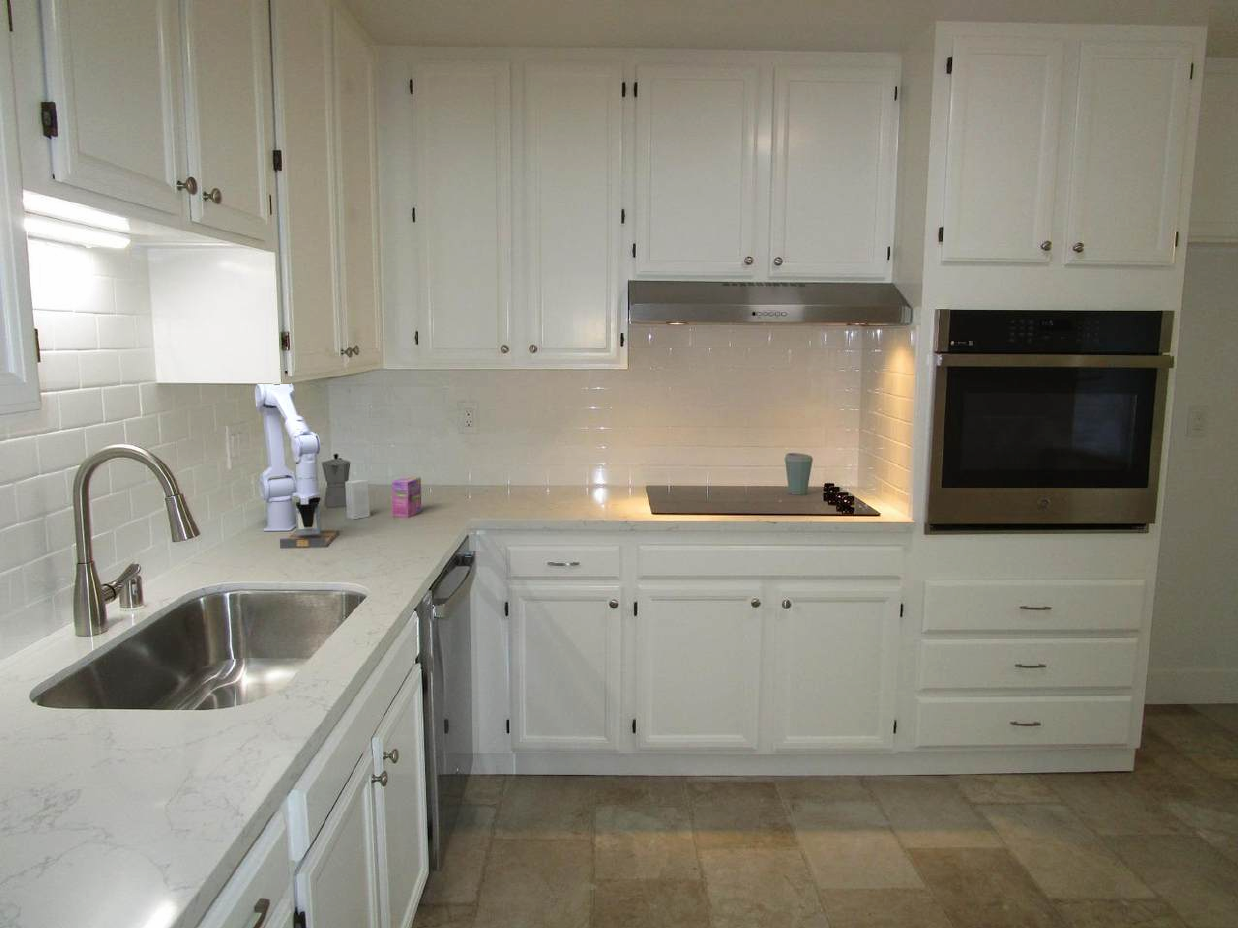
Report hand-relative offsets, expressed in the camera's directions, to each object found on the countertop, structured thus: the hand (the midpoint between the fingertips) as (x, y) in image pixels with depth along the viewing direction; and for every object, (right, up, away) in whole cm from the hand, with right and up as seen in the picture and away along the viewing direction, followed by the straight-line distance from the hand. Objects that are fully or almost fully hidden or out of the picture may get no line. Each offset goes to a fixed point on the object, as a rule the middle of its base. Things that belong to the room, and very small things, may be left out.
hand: (309, 525), depth 242 cm
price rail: (+1, -6, -7) cm, 9 cm away
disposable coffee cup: (+155, +6, +83) cm, 176 cm away
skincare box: (+3, 0, +34) cm, 34 cm away
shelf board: (0, -5, +2) cm, 5 cm away
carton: (0, -2, 0) cm, 2 cm away
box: (+18, 0, +39) cm, 43 cm away
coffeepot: (-10, +3, +55) cm, 56 cm away
